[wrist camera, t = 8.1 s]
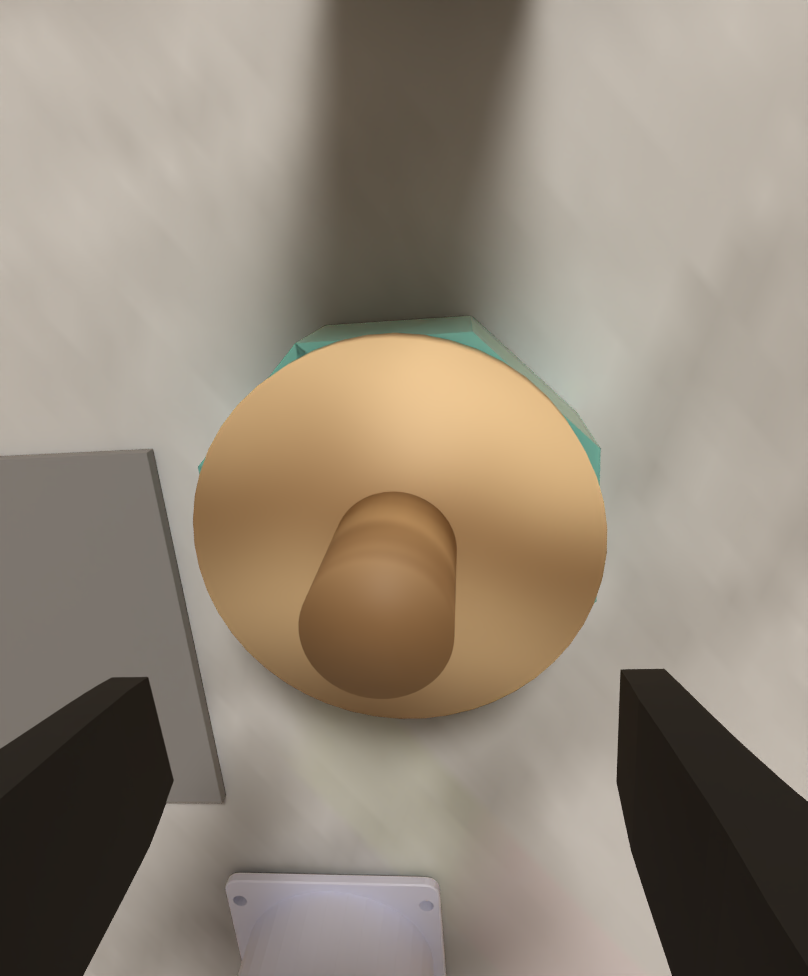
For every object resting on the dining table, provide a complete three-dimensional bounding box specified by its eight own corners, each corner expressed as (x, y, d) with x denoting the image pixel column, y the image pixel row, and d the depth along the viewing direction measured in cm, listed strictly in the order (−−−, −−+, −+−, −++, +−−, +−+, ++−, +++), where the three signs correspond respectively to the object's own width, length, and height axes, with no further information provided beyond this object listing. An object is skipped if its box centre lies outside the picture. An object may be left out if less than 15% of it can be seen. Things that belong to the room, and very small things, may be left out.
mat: (225, 794, 24) (222, 803, 24) (-104, 791, 25) (-113, 799, 25) (152, 448, 20) (146, 452, 19) (-242, 468, 21) (-255, 472, 21)
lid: (583, 700, 17) (620, 847, 13) (230, 686, 18) (159, 820, 14) (616, 331, 14) (681, 369, 10) (185, 334, 15) (74, 371, 11)
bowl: (573, 624, 20) (594, 695, 17) (274, 630, 21) (241, 697, 18) (578, 308, 17) (604, 323, 14) (226, 331, 18) (175, 350, 15)
